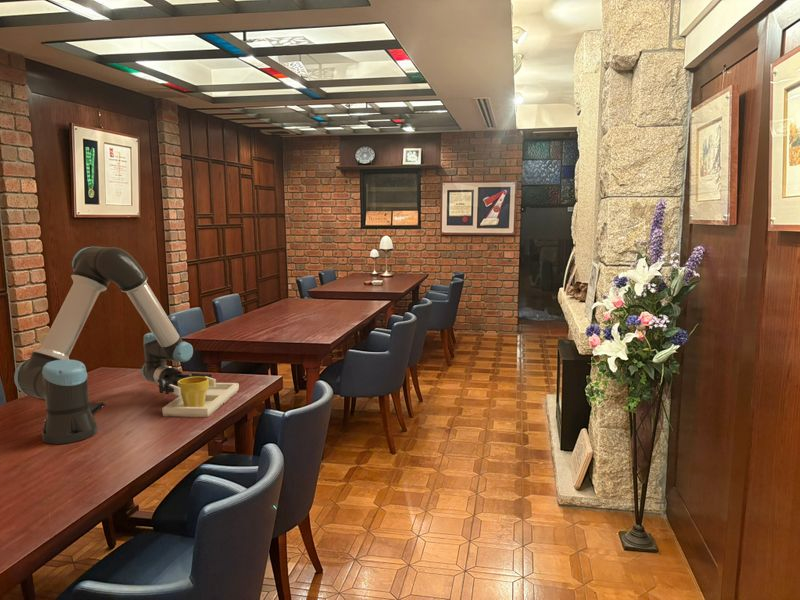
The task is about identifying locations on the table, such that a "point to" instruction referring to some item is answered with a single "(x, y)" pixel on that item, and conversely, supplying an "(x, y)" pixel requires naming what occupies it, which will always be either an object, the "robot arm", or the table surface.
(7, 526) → the table surface
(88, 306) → the robot arm
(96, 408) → the wallet
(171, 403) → the divided tray
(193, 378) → the plant pot
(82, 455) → the table surface
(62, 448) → the table surface
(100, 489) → the table surface
